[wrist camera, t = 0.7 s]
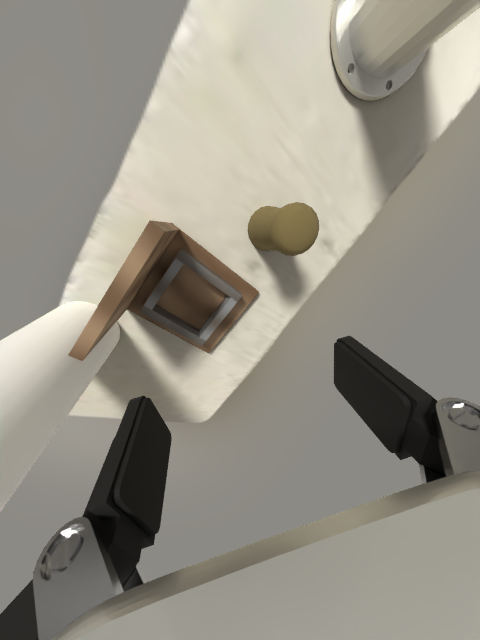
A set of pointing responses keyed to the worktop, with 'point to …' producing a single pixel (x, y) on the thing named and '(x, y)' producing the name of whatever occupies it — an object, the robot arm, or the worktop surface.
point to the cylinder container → (42, 385)
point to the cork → (284, 228)
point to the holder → (171, 291)
